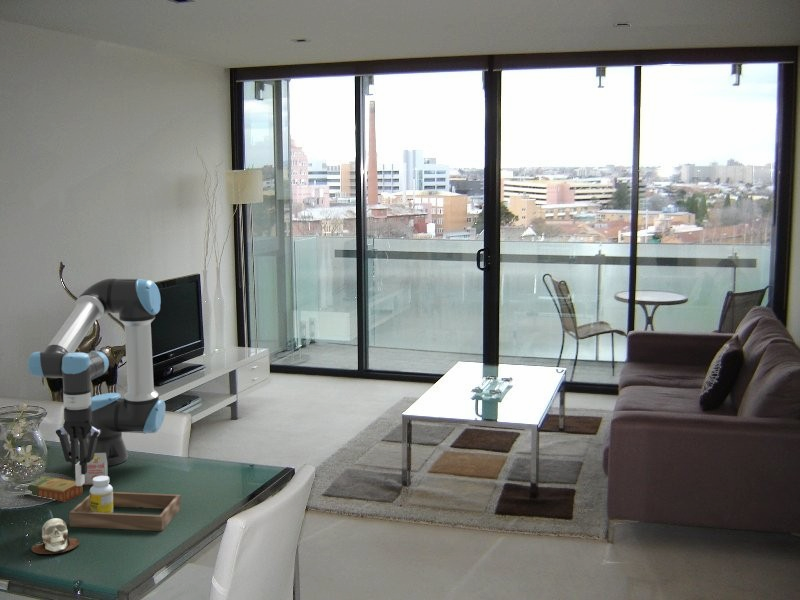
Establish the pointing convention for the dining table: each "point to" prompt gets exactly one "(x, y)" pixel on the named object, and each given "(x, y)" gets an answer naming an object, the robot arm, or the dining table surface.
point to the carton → (56, 488)
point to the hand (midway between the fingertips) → (80, 484)
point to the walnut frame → (128, 521)
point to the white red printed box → (96, 468)
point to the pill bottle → (101, 495)
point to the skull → (55, 538)
